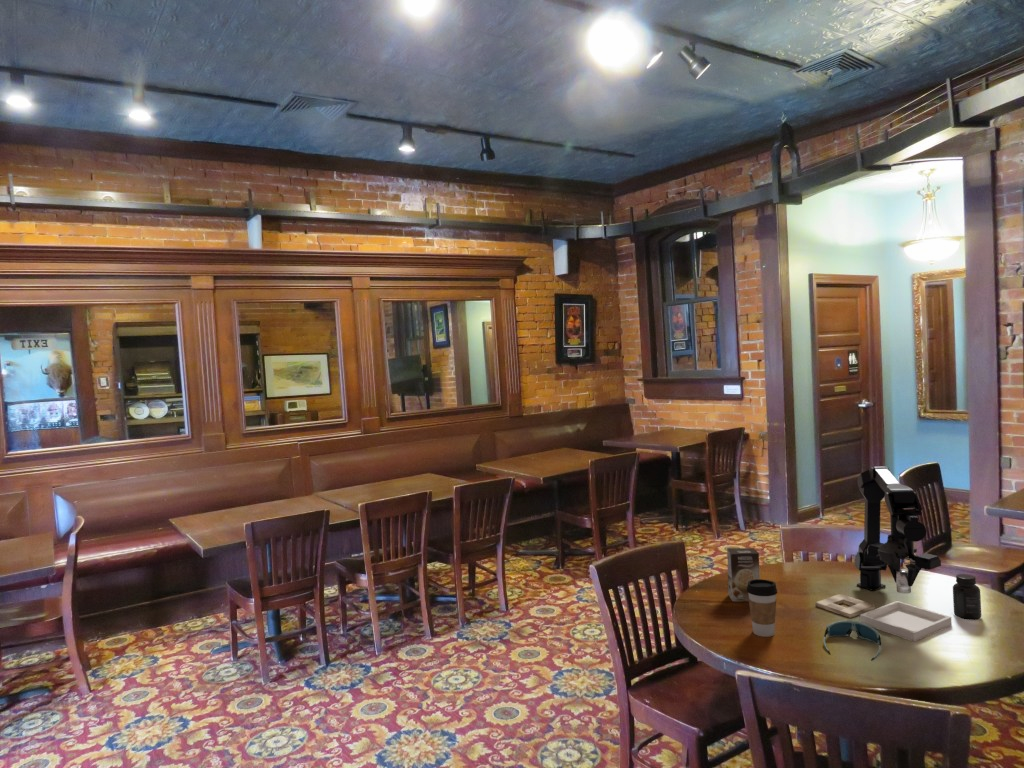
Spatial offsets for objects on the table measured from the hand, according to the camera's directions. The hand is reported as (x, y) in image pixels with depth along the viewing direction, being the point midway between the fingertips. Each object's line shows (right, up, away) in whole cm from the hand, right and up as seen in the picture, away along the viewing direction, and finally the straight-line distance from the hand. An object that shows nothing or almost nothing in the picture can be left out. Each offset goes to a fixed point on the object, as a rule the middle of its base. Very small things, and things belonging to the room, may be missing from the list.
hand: (903, 584), depth 199 cm
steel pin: (0, -2, 0) cm, 2 cm away
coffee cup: (-40, -15, +1) cm, 43 cm away
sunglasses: (-20, -14, -11) cm, 27 cm away
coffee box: (-37, -13, +28) cm, 48 cm away
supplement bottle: (+21, -11, +3) cm, 24 cm away
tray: (+1, -12, 0) cm, 12 cm away
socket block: (-10, -12, +15) cm, 22 cm away
